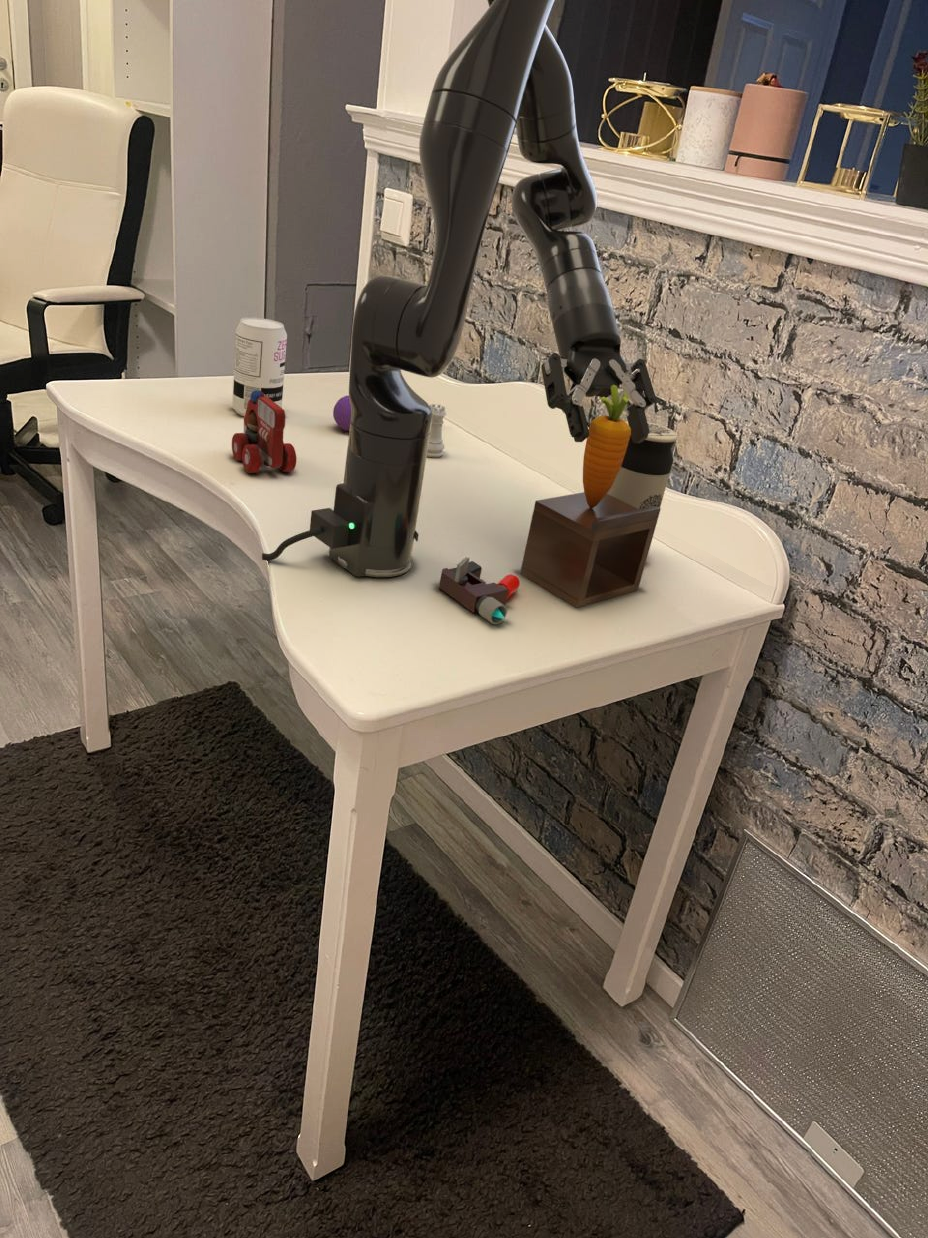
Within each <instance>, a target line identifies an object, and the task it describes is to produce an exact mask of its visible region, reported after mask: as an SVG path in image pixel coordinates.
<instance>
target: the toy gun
mask: <svg viewBox="0 0 928 1238" xmlns="http://www.w3.org/2000/svg"><path fill="white" fill-rule="evenodd" d="M482 570H483V567H482V566H481V565H480V564H478V563H477V562H475V561H473V560H470V557H465V558H463V559H462V560H461V561H460V562H459V563H457V565H456V567H451V568H448V567H443V568H442V569H441V574H440V579H439V586H438V589H440V590H441V591H442V592H444V593H446V594H447V595H448V596H450V597H451V598H453V599H454V600H455V601H457V602H459V603H460V604H461V605H462V606H463V607H464V608H466V609H467V610H469V611H470V612H471V613H478V614H479V615H480V616H481V617H482V618H483V619H485V620H487V621H488V622H489V623H491V624H493V625H499V624H500V623H501V622H503V621H504V620H506V619H505V618H506V617H507V613H508V607H507V606H506V603H507V599H508V598H509V597H510V596H511V595H512V594H513V593H515V592H516V591H517V590H518V589H519V587H520V585H521V583H520V579H519V577H518V576H517V575H515V574H507V575H505V576H504V577H503V578H502V579H501V580H499V581H498V582H497V583H496V582H489V583H486V581H485V580H483V579H481V576H482Z"/></svg>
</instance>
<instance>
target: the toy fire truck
mask: <svg viewBox="0 0 928 1238" xmlns="http://www.w3.org/2000/svg"><path fill="white" fill-rule="evenodd" d="M285 428H286V412H285V410H284V409H283V407H282V408H281V407H280V406H278V405H277V404H276V403H275V402H273V401H272V400H271V399H269V398H268V397H265V396H264V393H263V392H262V391H260V390H255V391H253V392H252V393H251V396H250V400H249V401H248V405H247V409H246V413H245V416H244V418H243V432H235V433H234V434H233V435H232V437H231V451H232V455H233V458H234V459H235V460H236V461H239V462H242V466H243V469H244V471H245V472H246V473H247V474H257V473H259V472H260V470H261V468H262V464H263V466H264V467H268V468H271V469H276V468H279V470H280V471H282V472H283V473H291V472H293V471H295V469H296V466H297V453H296V452H297V451H296V448H295V447H294V445H293V444H292V443H289V442H286V443H285V441H284V430H285Z"/></svg>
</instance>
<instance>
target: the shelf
mask: <svg viewBox="0 0 928 1238" xmlns="http://www.w3.org/2000/svg"><path fill="white" fill-rule="evenodd" d="M660 514H661V507H660V508H659V507H657V506H655V507H650V508H645V509H640V510H639V509H637V508H635V507H633V506H631V505H629V504H627V503H625V502H623V501H621V500H619V499H617V498H615V497H613V496H611V495H609V494H606V495H605V497H604V498H603V499H602V500H601V501H600V502H599V504H598V505H597V506H595V507H593V508H590V507H589V505H588V504H587V501H586V497H585V493H584V491H583V492H577V493H572V494H567V495H560V496H555V497H549V498H543V499H538V500H535V502H534V506H533V511H532V516H531V519H530V524H529V529H528V534H527V539H526V544H525V549H524V553H523V557H522V558H523V559H522V562H521V567H520V571H519V574H520V575H522V576H523V577H526V578H527V579H529V580H530V581H532V582H533V583H535V584H536V585H539V586H540V587H542V588H543V589H545V590H547V591H548V592H550V593H551V594H553V595H554V596H557V597H558V598H560V599H562V600H563V601H565V602H567V603H568V604H570V605H572V606H573V607H574V608H577V609H578V608H580V607H584V606H587V605H591V604H594V603H596V602H597V603H599V602H601V601H604V600H608V599H611V598H614V597H618V596H621V595H625V594H628V593H631V592H635V591H638V590H639V588H640V584H641V581H642V578H643V574H644V570H645V566H646V563H647V559H648V556H649V552H650V548H651V546H652V542H653V538H654V534H655V531H656V527H657V524H658V520H659V516H660Z"/></svg>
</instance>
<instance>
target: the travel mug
mask: <svg viewBox="0 0 928 1238" xmlns="http://www.w3.org/2000/svg"><path fill="white" fill-rule="evenodd" d="M624 421H625V420H624ZM625 422H626V423H627V424H628V420H626V421H625ZM647 423H648V426H649V434H648V437H647V438H646V439H645V440H644V441H642V442H641V443H633V440H632V436H631V435H630V439H629V442H628V446H627V449H626V453H625V456H624V459H623V462H622V465H621V468H620V470H619V472H618V474H617V477H616V479H615V481H614V483H613V485H612V487H611V488H610V490H609V491H608V493H607V494H609V495H611V496H613V497H615V498H617V499H619V500H621V501H623V502H625V503H627V504H629V505H631V506H633V507H635V508H637V509H639V510H640V509H645V508H650V507H655V506H657V507H659V508H661V506H662V502H663V500H664V495H665V492H666V489H667V485H668V481H669V477H670V474H671V472H672V471H671V470H672V467H673V463H674V455H673V451H672V448H673V446H674V444H675V442H676V441H677V440H678V439H679V435H678V433H676V431H674V430H672V428H670V427H666V426H664V425H661V424H658V423H654V422H650V421H647ZM628 425H629V424H628Z"/></svg>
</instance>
